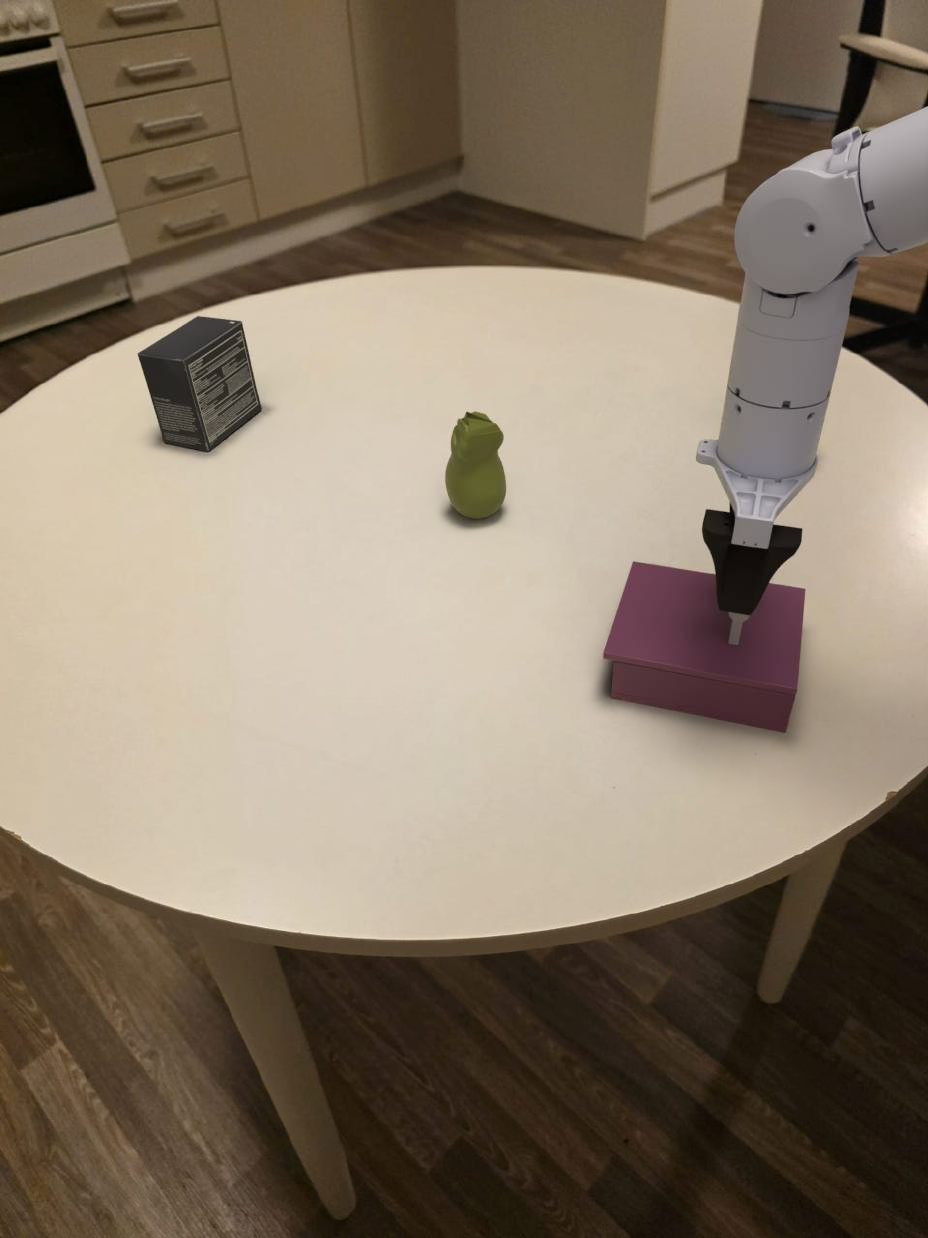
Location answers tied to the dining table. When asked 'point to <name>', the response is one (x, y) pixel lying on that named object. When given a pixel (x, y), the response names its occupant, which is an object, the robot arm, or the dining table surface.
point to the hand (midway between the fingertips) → (741, 574)
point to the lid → (707, 629)
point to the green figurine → (475, 467)
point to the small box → (201, 382)
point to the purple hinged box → (702, 696)
